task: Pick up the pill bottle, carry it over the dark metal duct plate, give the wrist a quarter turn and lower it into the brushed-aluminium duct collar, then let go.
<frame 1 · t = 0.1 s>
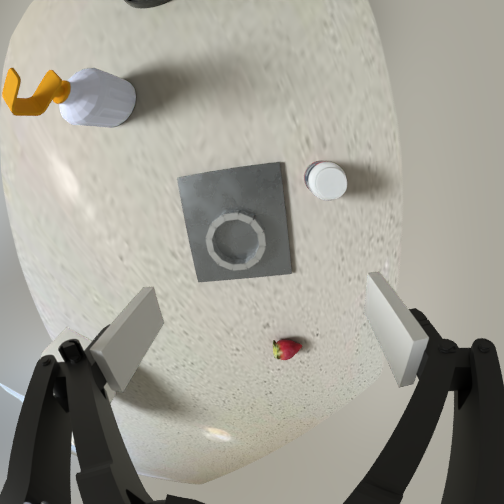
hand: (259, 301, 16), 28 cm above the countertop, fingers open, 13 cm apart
soap bottle: (115, 103, 37), on the countertop
duct plate: (235, 224, 43), on the countertop
fruit: (286, 341, 51), on the countertop
milk carton: (92, 362, 59), on the countertop
pill bottle: (320, 177, 40), on the countertop
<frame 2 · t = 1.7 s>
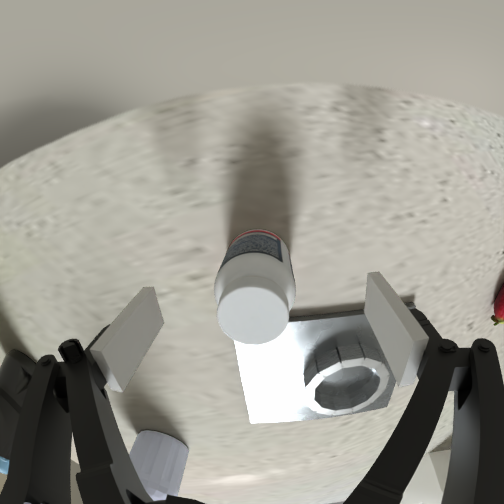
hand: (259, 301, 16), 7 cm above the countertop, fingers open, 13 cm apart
soap bottle: (163, 442, 35), on the countertop
duct plate: (325, 373, 27), on the countertop
fruit: (497, 294, 23), on the countertop
milk carton: (428, 464, 39), on the countertop
pill bottle: (258, 257, 23), on the countertop
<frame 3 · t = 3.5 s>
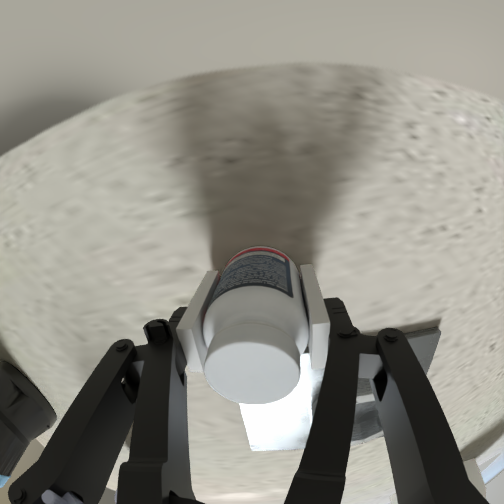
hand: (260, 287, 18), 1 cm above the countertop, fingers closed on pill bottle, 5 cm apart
duct plate: (335, 403, 22), on the countertop
milk carton: (434, 478, 34), on the countertop
pill bottle: (261, 280, 19), on the countertop, touching gripper
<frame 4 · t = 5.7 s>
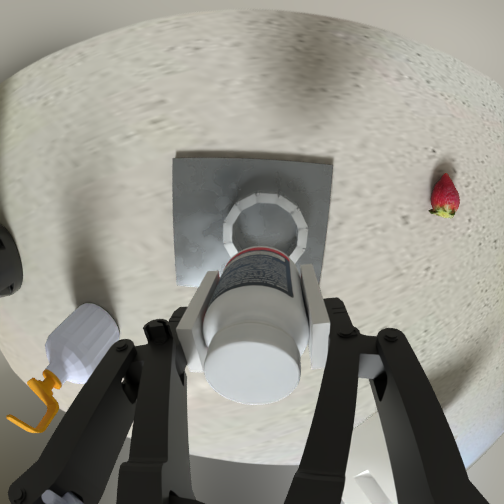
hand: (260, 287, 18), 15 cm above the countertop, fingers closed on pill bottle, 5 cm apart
soap bottle: (99, 324, 40), on the countertop
duct plate: (248, 227, 32), on the countertop
fruit: (436, 193, 28), on the countertop
milk carton: (379, 434, 46), on the countertop
pill bottle: (261, 280, 19), point 14 cm above the countertop, touching gripper
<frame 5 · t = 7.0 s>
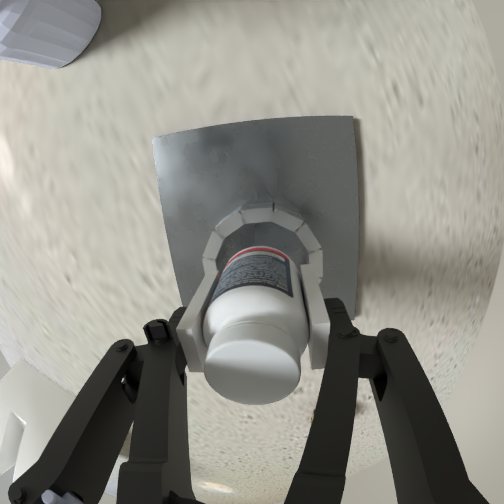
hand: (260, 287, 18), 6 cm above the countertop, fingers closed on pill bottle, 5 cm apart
soap bottle: (72, 34, 16), on the countertop
duct plate: (261, 231, 22), on the countertop
milk carton: (56, 401, 38), on the countertop
pill bottle: (261, 280, 19), point 5 cm above the countertop, touching gripper
when the fingers open (4 cm above the countertop, at t = 8.1 s): pill bottle drops 2 cm, resting on duct plate.
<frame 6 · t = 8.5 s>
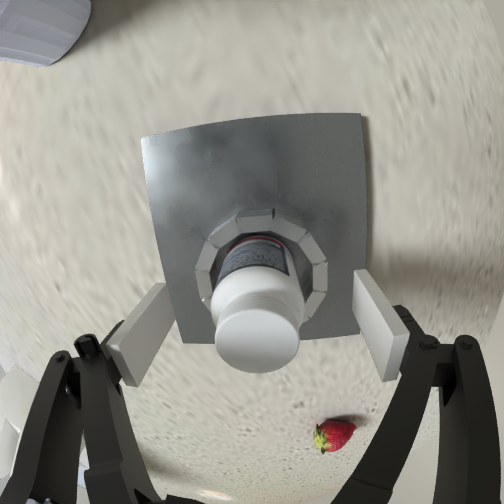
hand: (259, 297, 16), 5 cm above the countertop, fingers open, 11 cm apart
soap bottle: (61, 30, 14), on the countertop
duct plate: (260, 240, 20), on the countertop
fruit: (332, 420, 28), on the countertop
milk carton: (52, 408, 36), on the countertop
pill bottle: (259, 266, 20), point 1 cm above the countertop, touching duct plate
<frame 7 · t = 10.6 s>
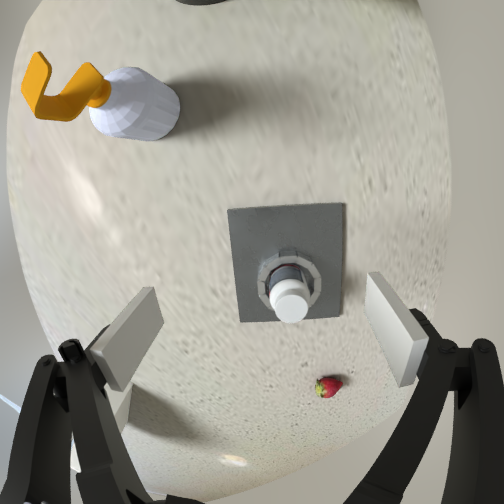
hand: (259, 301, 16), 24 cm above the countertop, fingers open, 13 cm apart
soap bottle: (153, 112, 35), on the countertop
duct plate: (288, 265, 40), on the countertop
fruit: (327, 379, 47), on the countertop
milk carton: (104, 389, 54), on the countertop
pill bottle: (287, 279, 40), point 1 cm above the countertop, touching duct plate
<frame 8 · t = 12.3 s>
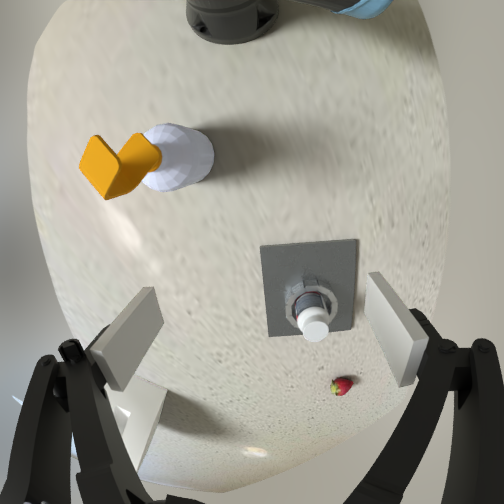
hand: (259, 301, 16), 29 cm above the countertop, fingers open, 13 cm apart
soap bottle: (188, 156, 41), on the countertop
duct plate: (309, 290, 47), on the countertop
fruit: (340, 379, 54), on the countertop
milk carton: (137, 395, 63), on the countertop
pill bottle: (309, 301, 47), point 1 cm above the countertop, touching duct plate
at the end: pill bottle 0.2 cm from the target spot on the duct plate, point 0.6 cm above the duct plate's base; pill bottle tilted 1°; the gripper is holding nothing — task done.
